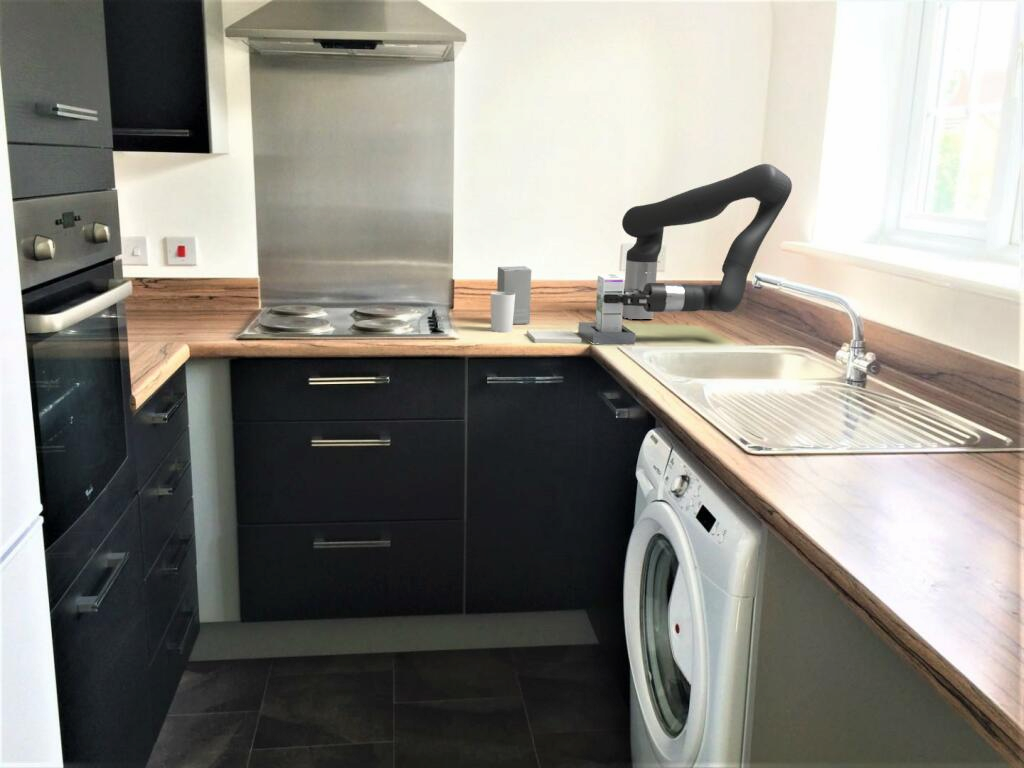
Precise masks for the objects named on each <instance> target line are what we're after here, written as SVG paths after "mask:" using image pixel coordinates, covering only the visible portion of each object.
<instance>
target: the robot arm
mask: <svg viewBox="0 0 1024 768" xmlns="http://www.w3.org/2000/svg"><path fill="white" fill-rule="evenodd" d="M792 189H793V184H792V180H791V178H790V177H789V176H788V175H787V174H786V173H784V172H783V171H781V170H780V169H779V168H777V167H776V166H774V165H772V164H770V163H763V164H758V165H754V166H753V167H750V168H747V169H746V170H744V171H743V170H742V172H739V173H737V174H735V175H732V176H729V177H727V178H723V179H720V180H718V181H715V182H711V183H710V184H705V185H701V186H698V187H695V188H693V189H689V190H687V191H684V192H681V193H679V194H675V195H672V196H671V197H669V198H668V197H667V198H665V199H664V200H661V201H657V202H653V203H652V202H651V203H647V204H640V205H636V206H632V207H630V208H629V209H628V210H627V211H626V212H625V214H624V215H623V217H622V221H621V225H622V229H623V231H624V232H625V233H626V234H627V235H628V236H629V237H632V238H635V239H636V240H635V243H634V244H633V246H632V247H631V248H630V249H628V250H627V251H626V259H625V273H624V276H625V277H624V293H623V294H619V295H618V294H605V295H604V299H603V302H604V303H618V302H619V304H620V305H622V304H623V315H622V316H623V317H624V318H623V317H622V318H623V319H626V318H628V319H627V320H632V319H651V318H653V319H654V313H676V312H699V311H707V312H709V311H710V312H711V311H712V312H721V313H732V312H734V311H735V310H737V309H738V308H739V306H740V305H741V302H742V300H743V298H744V294H745V292H746V291H745V290H746V285H747V279H748V275H749V273H750V270H751V268H752V266H753V264H754V261H755V259H756V256H757V254H758V251H759V249H760V247H761V246H762V243H763V241H764V240H765V238H766V236H767V235H768V233H769V232H770V229H771V228H772V226H773V225H774V223H775V221H776V219H778V216H779V214H780V213H781V211H782V210H783V208H784V207H785V205H786V202H787V201H788V200H789V197H790V195H791V193H792ZM749 198H750V199H751V198H753V199H755V200H757V201H758V202H759V205H758V209H757V212H756V213H755V216H754V217H753V219H752V220H751V221H750V223H749V224H748V225H746V227H745V228H744V229H743V230H742V231H741V232H739V233H738V235H737V236H736V237H735V238H734V240H733V241H732V243H731V245H730V246H729V248H728V251H727V254H726V256H725V259H724V262H723V264H722V267H721V271H722V273H723V276H722V281H721V283H720V284H705V285H697V284H687V283H685V284H682V283H674V282H673V283H670V282H669V283H668V282H656V281H657V271H658V259H659V255H660V253H661V250H662V246H663V245H662V244H663V237H664V229H665V228H666V227H673V226H674V227H675V226H684V225H691V224H697V223H700V222H704V221H705V222H706V221H708V220H711V219H714V218H716V217H718V216H719V215H721V214H722V213H723V212H724V211H725V210H726V209H727V207H729V205H730V204H731V203H734V202H736V201H741V200H743V199H749Z"/></svg>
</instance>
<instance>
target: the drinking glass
mask: <svg viewBox="0 0 1024 768" xmlns="http://www.w3.org/2000/svg"><path fill="white" fill-rule="evenodd" d="M514 303H515V293H511V292H497V291H491V292H490V330H491V332H494V333H511V332H513V328H514V327H513V326H514V324H513V315H514Z"/></svg>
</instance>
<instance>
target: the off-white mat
mask: <svg viewBox="0 0 1024 768" xmlns="http://www.w3.org/2000/svg"><path fill="white" fill-rule="evenodd" d="M526 335H527V336H528V338H530V339H531V340H532V341H533V342H534V343H536V344H537V343H540V344H541V343H542V344H543V343H546V344H548V343H549V344H553V343H554V344H557V343H558V344H560V343H561V344H562V343H563V344H565V343H567V344H581V343H582V338H581V337H580V336H579V335H578V334H576V333H575V332H573V331H572V330H550V329H548V330H545V329H544V330H543V329H542V330H541V329H537V330H536V329H526Z"/></svg>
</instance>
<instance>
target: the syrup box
mask: <svg viewBox="0 0 1024 768" xmlns="http://www.w3.org/2000/svg"><path fill="white" fill-rule="evenodd" d="M596 285H597V286H596V303H595V304H596V305H595V306H596V307H595V322H596V323H595V329H596V330H598V331H599V332H622V325H623V317H622V316H623V304H622V305H620V304H619V302H618V303H604V302H603V299H604V295H605V294H618V295H619V294H623V293H624V287H625V277H623V276H621V275H618V274H611V273H608V274H597V283H596Z"/></svg>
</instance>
